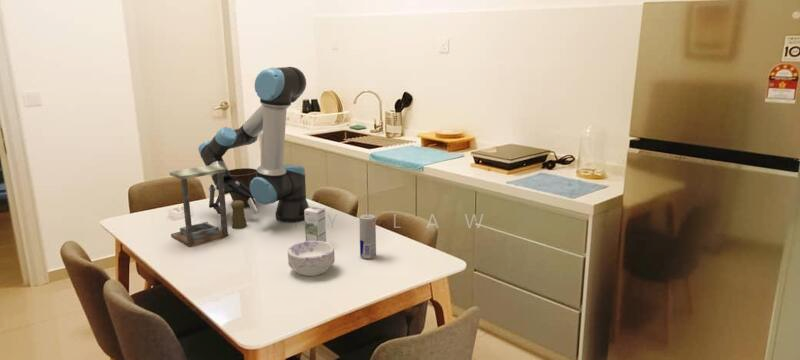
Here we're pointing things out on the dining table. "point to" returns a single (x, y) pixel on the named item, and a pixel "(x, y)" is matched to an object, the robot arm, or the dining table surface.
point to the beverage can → (367, 236)
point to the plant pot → (246, 177)
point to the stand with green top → (190, 233)
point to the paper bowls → (311, 257)
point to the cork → (238, 215)
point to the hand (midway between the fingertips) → (240, 216)
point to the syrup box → (315, 224)
